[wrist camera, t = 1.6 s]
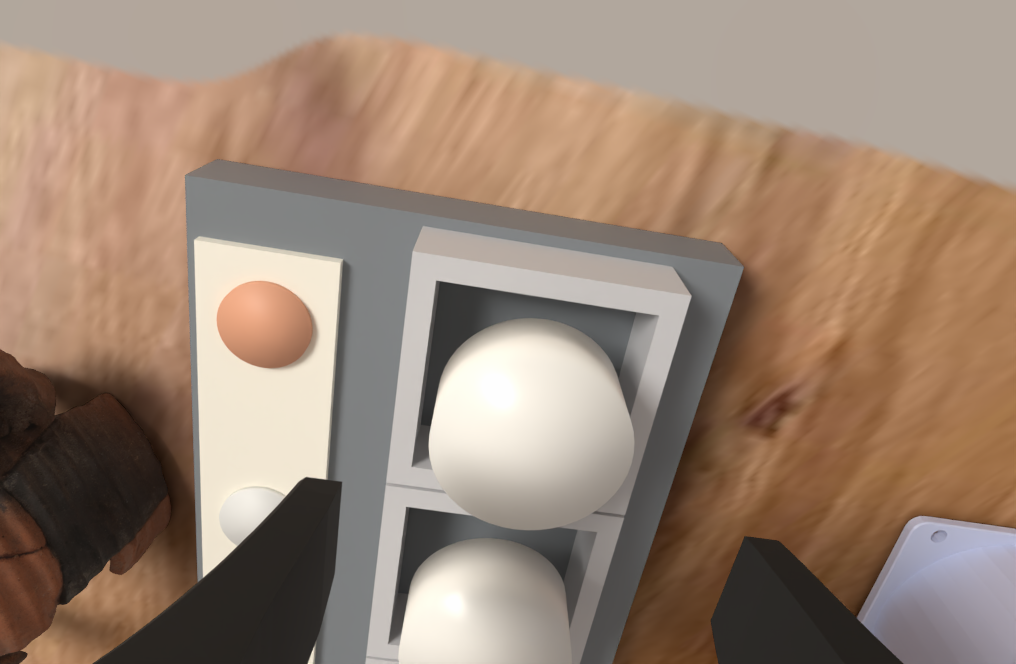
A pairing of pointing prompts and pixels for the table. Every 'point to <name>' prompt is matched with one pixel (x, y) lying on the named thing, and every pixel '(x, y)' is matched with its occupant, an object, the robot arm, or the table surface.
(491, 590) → the button middle
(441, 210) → the button board
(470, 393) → the button
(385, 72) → the table surface
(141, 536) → the brown broken pot
